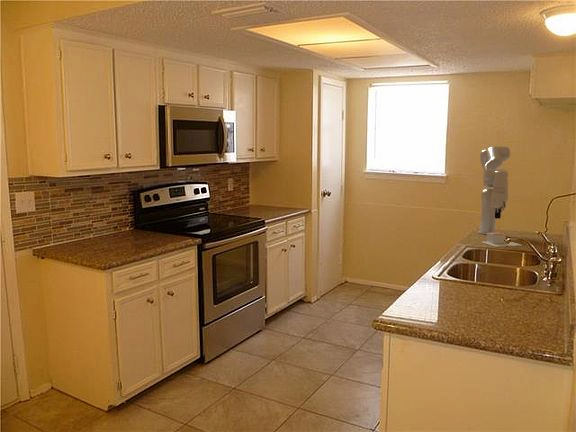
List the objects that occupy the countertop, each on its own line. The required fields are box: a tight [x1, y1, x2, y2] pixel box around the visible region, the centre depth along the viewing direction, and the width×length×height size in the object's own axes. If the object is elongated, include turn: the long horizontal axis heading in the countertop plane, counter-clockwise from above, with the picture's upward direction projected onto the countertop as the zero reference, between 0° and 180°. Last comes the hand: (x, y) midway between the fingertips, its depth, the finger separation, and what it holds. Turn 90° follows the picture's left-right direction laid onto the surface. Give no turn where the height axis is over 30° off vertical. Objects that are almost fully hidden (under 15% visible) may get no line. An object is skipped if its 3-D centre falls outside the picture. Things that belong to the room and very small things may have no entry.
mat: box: [480, 240, 524, 248], centre depth 315 cm, size 15×19×1 cm
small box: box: [486, 231, 507, 244], centre depth 318 cm, size 8×6×10 cm
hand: (497, 218), depth 320 cm, fingers closed
